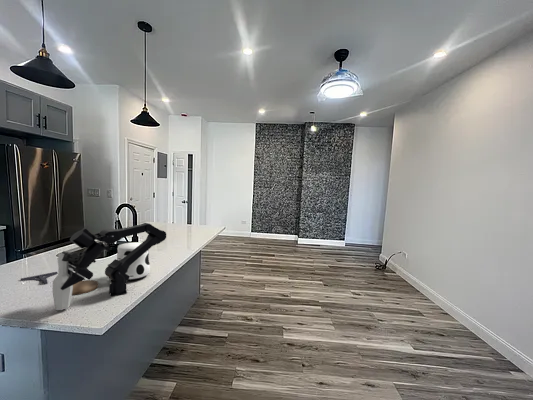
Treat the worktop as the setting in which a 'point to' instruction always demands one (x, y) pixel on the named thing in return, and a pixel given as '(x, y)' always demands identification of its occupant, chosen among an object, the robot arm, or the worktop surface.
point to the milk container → (140, 265)
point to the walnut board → (84, 287)
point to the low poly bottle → (61, 296)
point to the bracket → (40, 277)
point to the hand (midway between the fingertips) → (58, 287)
